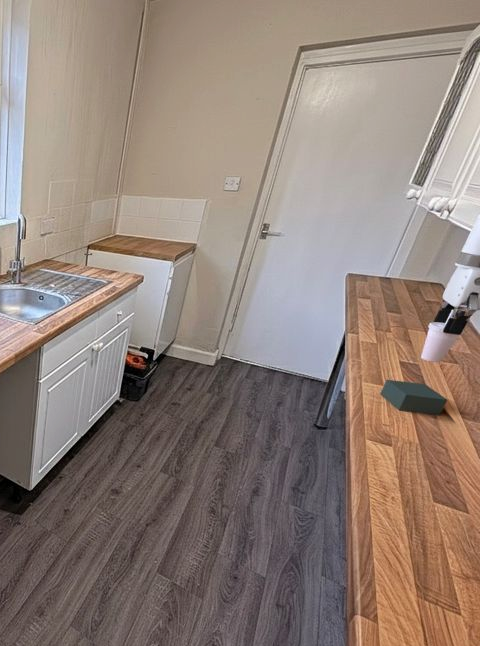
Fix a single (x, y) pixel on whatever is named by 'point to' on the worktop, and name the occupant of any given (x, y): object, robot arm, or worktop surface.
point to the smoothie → (438, 342)
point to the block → (413, 397)
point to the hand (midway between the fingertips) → (446, 328)
